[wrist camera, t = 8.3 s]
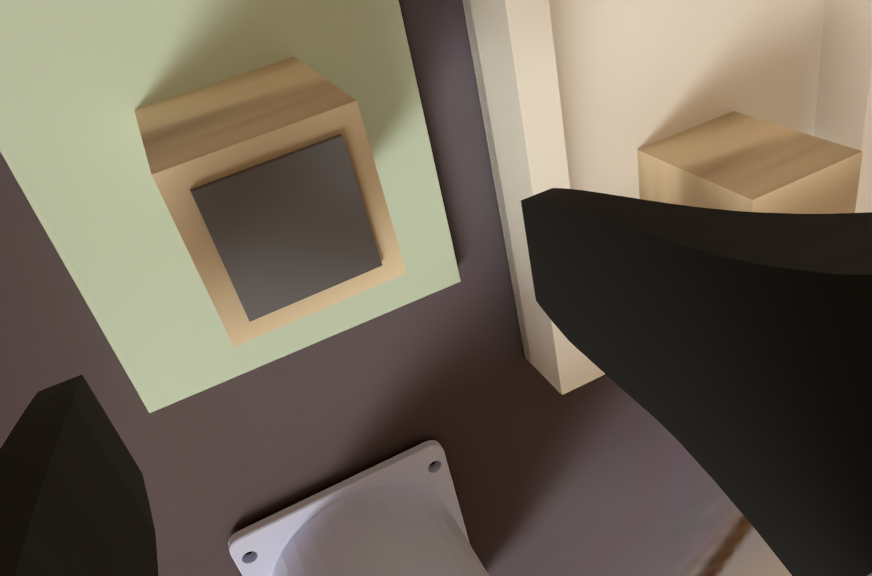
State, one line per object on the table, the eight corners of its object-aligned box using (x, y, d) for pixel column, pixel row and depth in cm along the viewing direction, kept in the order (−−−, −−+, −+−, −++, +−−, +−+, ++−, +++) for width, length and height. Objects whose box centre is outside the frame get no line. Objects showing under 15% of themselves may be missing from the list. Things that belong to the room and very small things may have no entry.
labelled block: (340, 198, 20) (409, 275, 16) (200, 253, 19) (235, 350, 15) (293, 56, 18) (359, 102, 14) (134, 110, 17) (151, 177, 13)
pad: (452, 273, 23) (460, 281, 23) (148, 401, 21) (149, 413, 20) (356, -150, 17) (364, -152, 16) (-99, -36, 15) (-106, -34, 14)
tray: (817, 221, 30) (871, 244, 28) (525, 357, 26) (562, 395, 24) (886, -500, 18) (986, -551, 16) (387, -426, 15) (436, -477, 13)
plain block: (731, 213, 27) (848, 268, 23) (642, 253, 26) (747, 317, 22) (733, 110, 25) (862, 151, 21) (637, 149, 24) (752, 200, 20)
